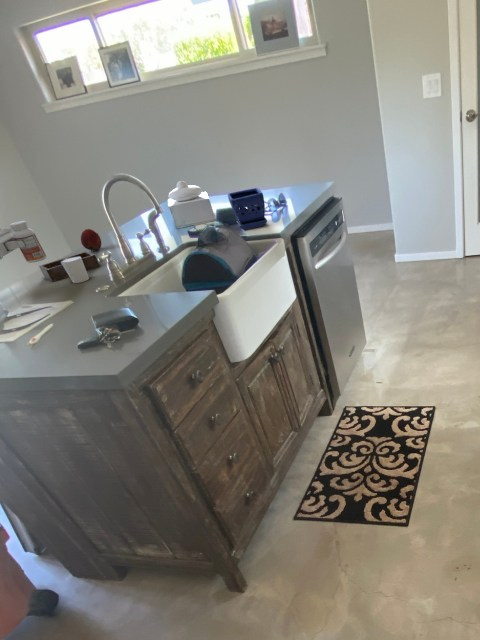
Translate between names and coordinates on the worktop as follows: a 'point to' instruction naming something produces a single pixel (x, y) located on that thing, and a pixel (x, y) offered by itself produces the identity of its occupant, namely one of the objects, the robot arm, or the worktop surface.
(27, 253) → the pill bottle
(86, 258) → the brown wooden tray
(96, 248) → the apple
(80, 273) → the white cup
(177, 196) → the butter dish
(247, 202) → the flower pot
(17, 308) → the worktop surface
